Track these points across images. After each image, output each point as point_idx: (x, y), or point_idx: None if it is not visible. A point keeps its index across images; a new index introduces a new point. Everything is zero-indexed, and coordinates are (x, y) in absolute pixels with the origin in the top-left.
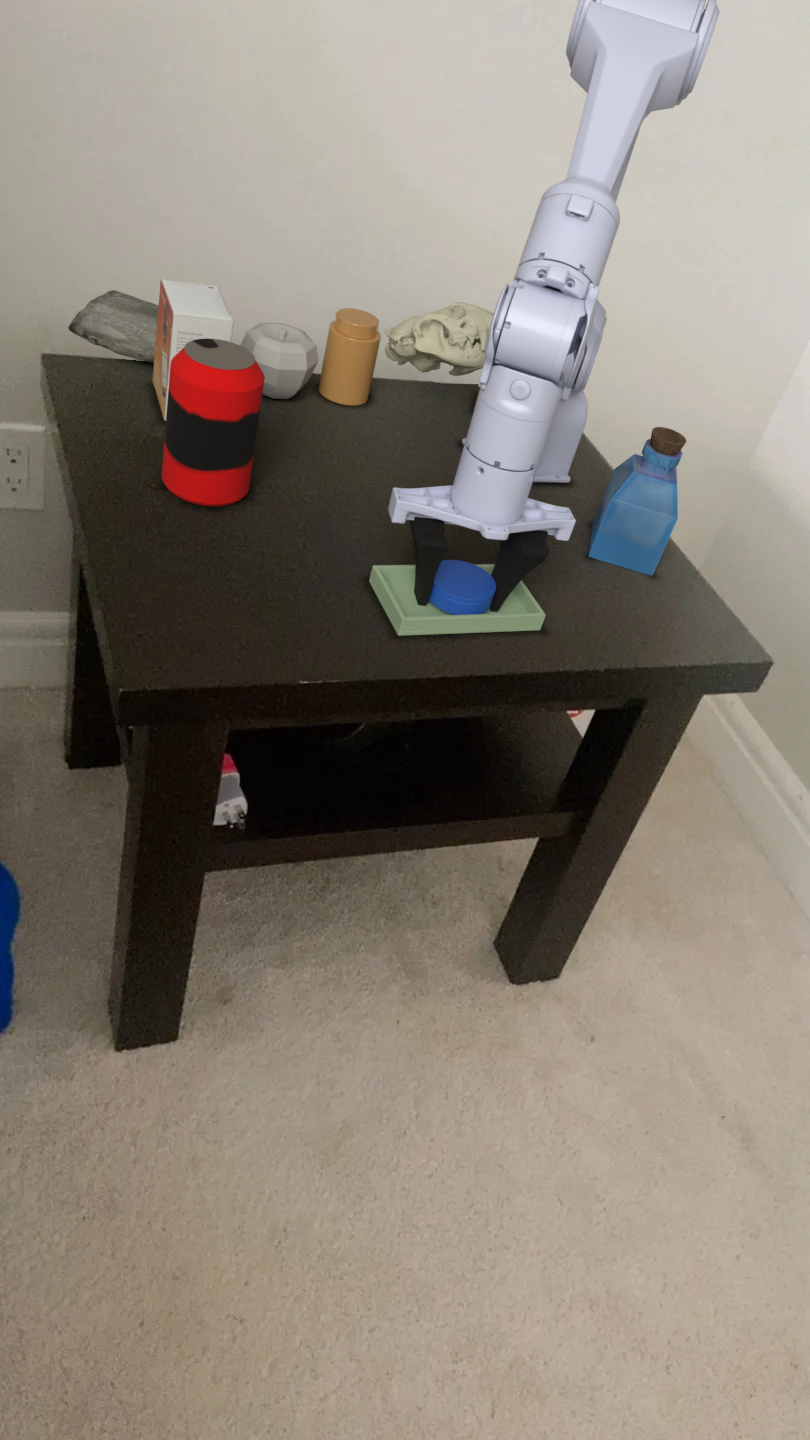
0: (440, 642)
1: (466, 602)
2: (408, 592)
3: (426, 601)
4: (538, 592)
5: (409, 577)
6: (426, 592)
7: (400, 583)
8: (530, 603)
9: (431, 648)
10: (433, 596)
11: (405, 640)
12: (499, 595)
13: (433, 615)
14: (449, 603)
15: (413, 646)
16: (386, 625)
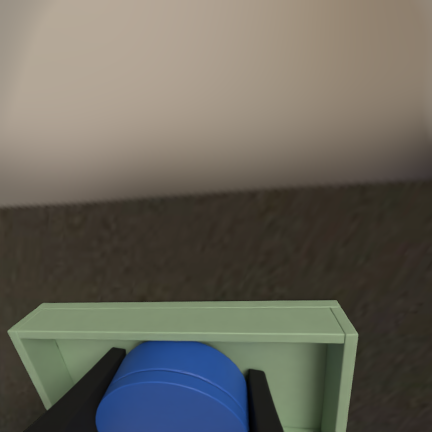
0: (248, 279)
1: (180, 375)
2: None
3: (253, 379)
4: None
5: None
6: (265, 407)
7: None
8: (41, 361)
9: (275, 263)
10: (243, 393)
11: (324, 287)
12: (94, 388)
13: (243, 345)
14: (217, 373)
15: (314, 269)
16: None
